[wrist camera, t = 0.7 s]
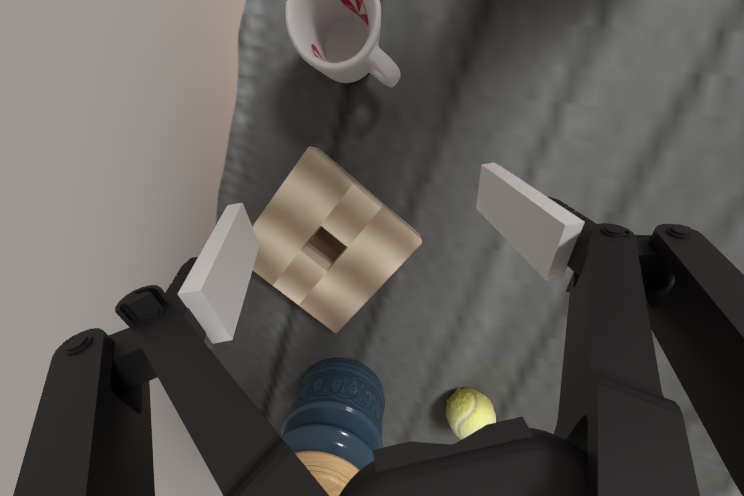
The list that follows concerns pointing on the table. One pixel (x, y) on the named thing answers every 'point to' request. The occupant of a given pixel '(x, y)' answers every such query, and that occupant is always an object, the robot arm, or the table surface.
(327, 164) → the opening block
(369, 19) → the cup
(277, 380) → the table surface
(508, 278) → the table surface
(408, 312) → the table surface
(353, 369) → the canister
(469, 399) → the tennis ball
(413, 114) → the table surface
